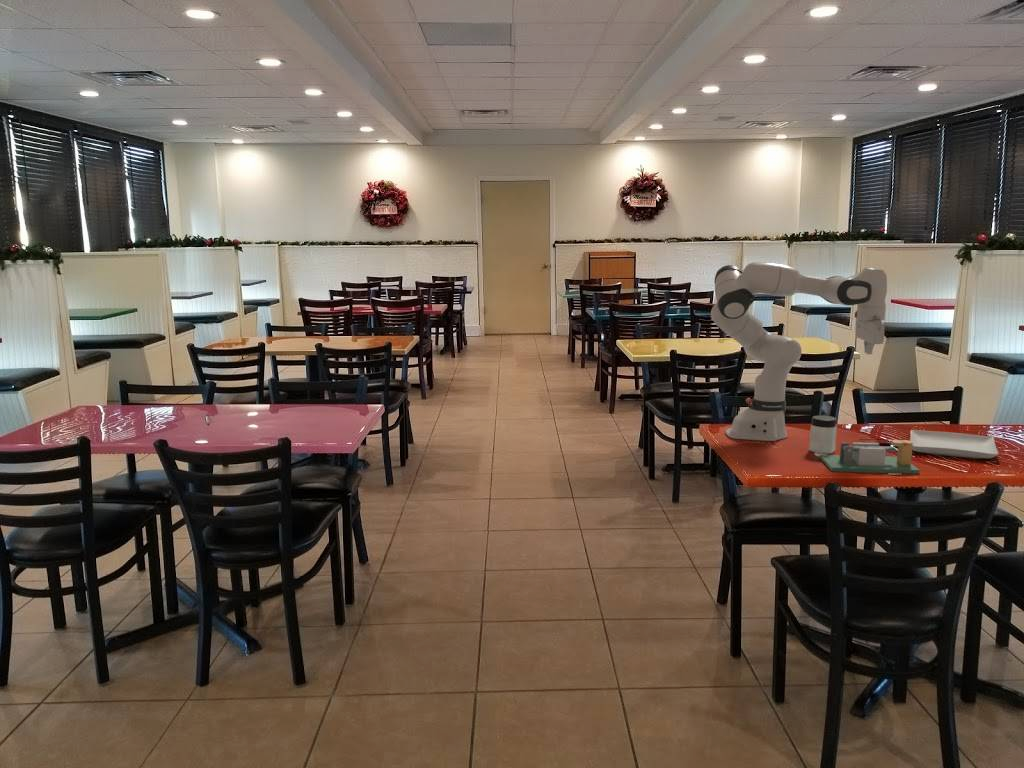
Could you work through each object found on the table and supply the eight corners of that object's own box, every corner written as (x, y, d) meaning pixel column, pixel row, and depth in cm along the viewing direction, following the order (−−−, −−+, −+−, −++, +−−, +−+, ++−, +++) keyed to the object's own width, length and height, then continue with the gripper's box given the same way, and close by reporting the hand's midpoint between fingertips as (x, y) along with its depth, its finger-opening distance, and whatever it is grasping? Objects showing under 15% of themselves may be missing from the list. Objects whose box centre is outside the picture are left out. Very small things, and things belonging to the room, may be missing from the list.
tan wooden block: (892, 464, 260) (894, 442, 259) (888, 461, 264) (890, 439, 263) (910, 464, 260) (912, 443, 258) (906, 461, 264) (908, 440, 262)
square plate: (992, 445, 290) (993, 435, 289) (997, 464, 266) (999, 453, 265) (909, 437, 302) (910, 427, 301) (907, 454, 278) (908, 444, 277)
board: (831, 471, 258) (833, 450, 256) (819, 458, 273) (820, 438, 272) (919, 473, 254) (921, 452, 253) (901, 460, 270) (903, 440, 269)
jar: (840, 452, 280) (842, 419, 278) (823, 455, 277) (825, 421, 275) (820, 446, 288) (822, 414, 286) (804, 449, 285) (806, 416, 283)
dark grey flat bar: (844, 451, 262) (844, 448, 262) (842, 448, 265) (842, 445, 265) (895, 451, 260) (895, 448, 260) (892, 449, 263) (892, 446, 263)
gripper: (890, 317, 268) (887, 358, 270) (871, 312, 288) (868, 350, 290) (871, 317, 268) (868, 358, 271) (853, 312, 288) (850, 349, 291)
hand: (868, 353), depth 281 cm, fingers closed
